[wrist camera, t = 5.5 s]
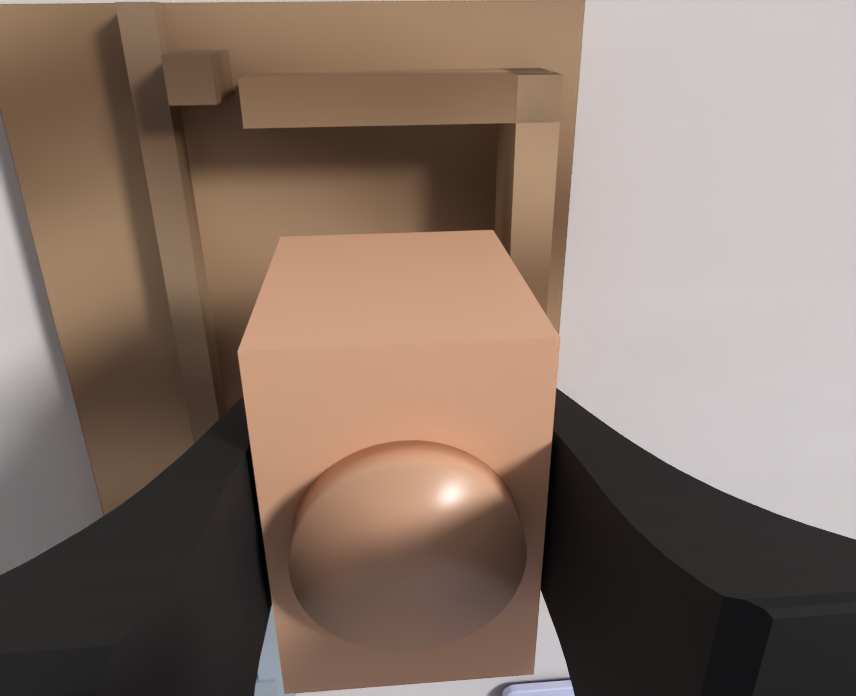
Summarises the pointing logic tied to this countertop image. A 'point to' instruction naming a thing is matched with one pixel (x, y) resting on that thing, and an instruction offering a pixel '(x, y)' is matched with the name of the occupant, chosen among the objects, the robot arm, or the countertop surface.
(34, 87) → the housing
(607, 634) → the robot arm
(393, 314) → the block with dome
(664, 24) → the countertop surface
